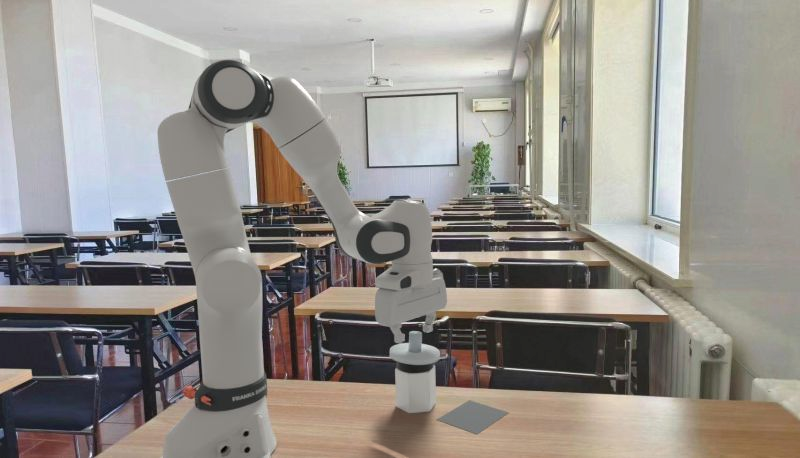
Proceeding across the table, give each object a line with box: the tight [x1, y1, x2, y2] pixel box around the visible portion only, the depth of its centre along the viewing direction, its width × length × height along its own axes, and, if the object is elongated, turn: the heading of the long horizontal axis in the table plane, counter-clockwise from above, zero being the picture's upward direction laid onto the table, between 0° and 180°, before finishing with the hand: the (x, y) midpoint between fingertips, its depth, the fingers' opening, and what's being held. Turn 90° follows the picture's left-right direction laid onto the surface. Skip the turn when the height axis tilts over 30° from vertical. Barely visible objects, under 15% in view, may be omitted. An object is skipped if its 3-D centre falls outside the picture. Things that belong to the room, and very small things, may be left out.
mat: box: [436, 400, 510, 435], centre depth 110 cm, size 12×10×1 cm
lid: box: [389, 330, 441, 365], centre depth 115 cm, size 11×11×5 cm
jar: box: [394, 361, 437, 414], centre depth 116 cm, size 9×8×12 cm
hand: (414, 336), depth 115 cm, fingers open, 8 cm apart
